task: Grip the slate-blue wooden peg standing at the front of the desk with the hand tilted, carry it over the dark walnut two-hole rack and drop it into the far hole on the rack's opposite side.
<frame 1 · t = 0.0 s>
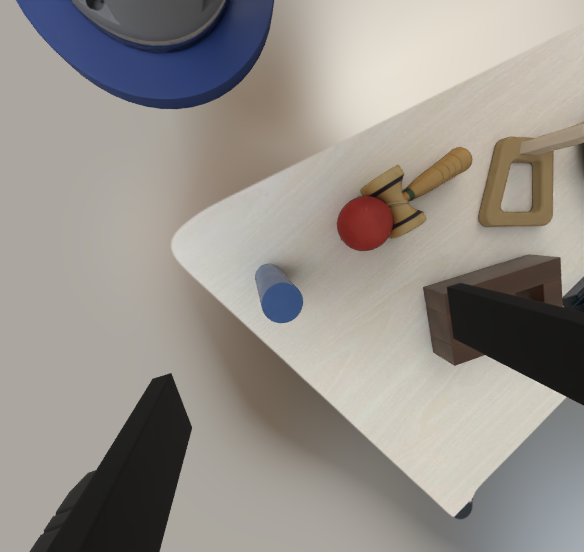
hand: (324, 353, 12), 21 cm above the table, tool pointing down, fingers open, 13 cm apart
peg: (268, 277, 32), on the table
headphone stand: (513, 184, 36), on the table
kendama: (392, 198, 33), on the table
rack: (480, 303, 38), on the table
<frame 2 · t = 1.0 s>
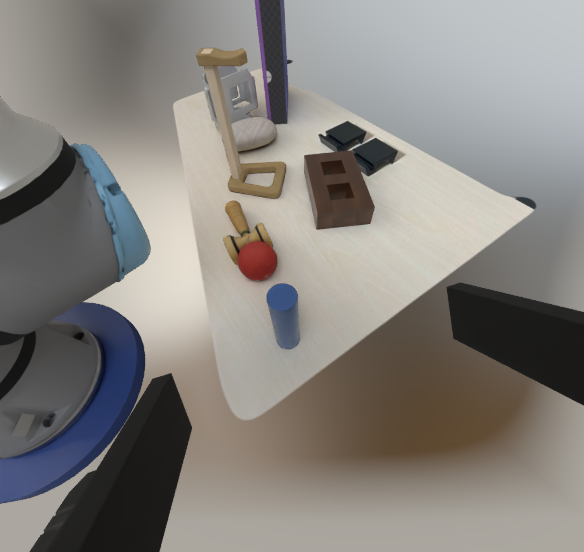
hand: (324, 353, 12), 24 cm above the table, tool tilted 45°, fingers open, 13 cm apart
decorative stone: (251, 145, 64), on the table
peg: (288, 338, 37), on the table
headphone stand: (257, 181, 57), on the table
cereal box: (279, 107, 74), on the table
kendama: (248, 246, 47), on the table
rack: (334, 195, 53), on the table
cable organizer: (239, 124, 70), on the table
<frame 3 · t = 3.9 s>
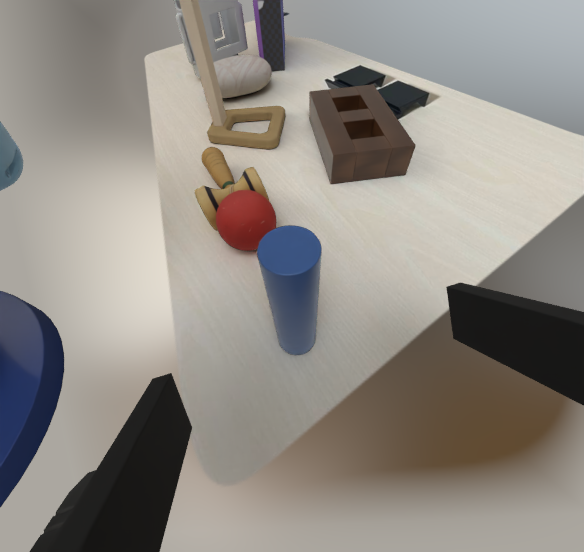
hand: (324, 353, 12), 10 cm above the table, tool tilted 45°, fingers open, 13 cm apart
decorative stone: (240, 93, 50), on the table
peg: (296, 336, 23), on the table
headphone stand: (248, 131, 43), on the table
cereal box: (274, 56, 60), on the table
kendama: (234, 208, 33), on the table
rack: (351, 143, 39), on the table
cable organizer: (224, 73, 56), on the table
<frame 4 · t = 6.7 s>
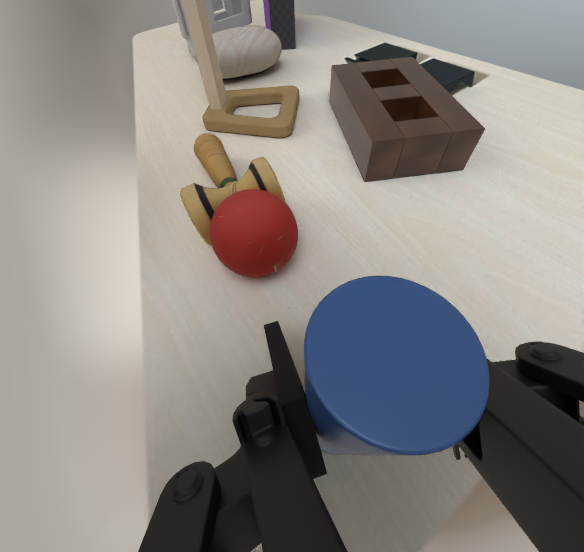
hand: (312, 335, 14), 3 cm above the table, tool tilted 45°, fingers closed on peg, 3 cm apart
decorative stone: (243, 74, 42), on the table
peg: (335, 420, 15), on the table, touching gripper
headphone stand: (253, 117, 34), on the table
cereal box: (282, 34, 52), on the table
kendama: (236, 214, 25), on the table
rack: (386, 131, 31), on the table
cable organizer: (225, 53, 48), on the table
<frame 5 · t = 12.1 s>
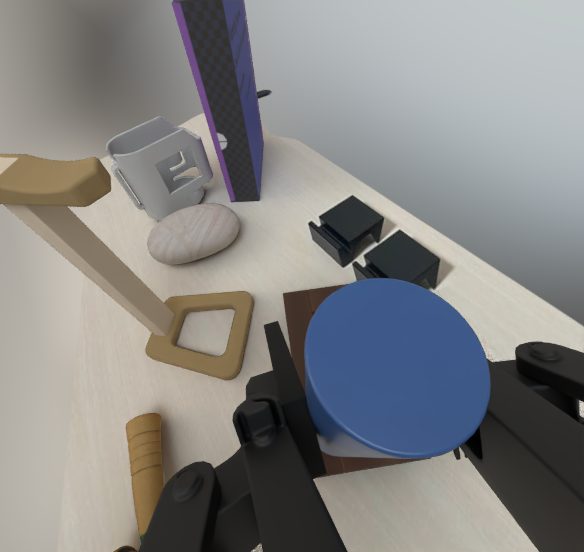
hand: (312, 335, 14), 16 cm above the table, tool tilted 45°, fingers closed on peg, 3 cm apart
decorative stone: (201, 245, 40), on the table
peg: (335, 421, 15), point 13 cm above the table, touching gripper
headphone stand: (203, 332, 32), on the table
cereal box: (249, 170, 50), on the table
kendama: (166, 531, 23), on the table
rack: (339, 372, 29), on the table
cable organizer: (186, 203, 45), on the table
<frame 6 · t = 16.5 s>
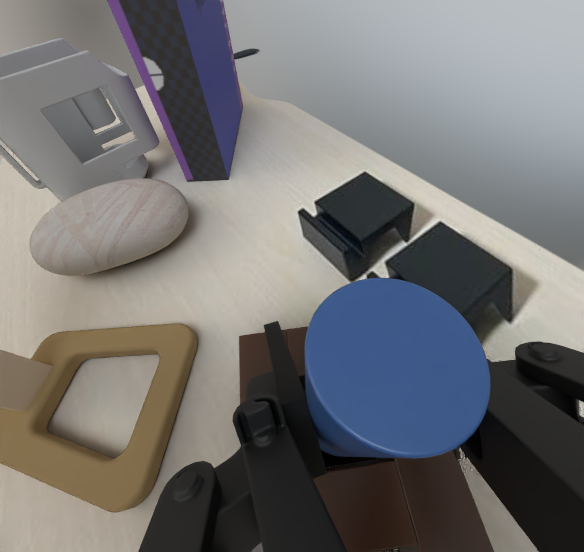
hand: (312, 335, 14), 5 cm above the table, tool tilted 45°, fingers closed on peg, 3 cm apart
decorative stone: (132, 244, 26), on the table
peg: (335, 421, 15), point 2 cm above the table, touching gripper
headphone stand: (104, 398, 18), on the table
cereal box: (219, 140, 36), on the table
rack: (346, 495, 15), on the table
cable organizer: (124, 183, 32), on the table
when the fingers open (5 cm above the table, at t = 17.6 s): peg drops 2 cm, resting in rack.
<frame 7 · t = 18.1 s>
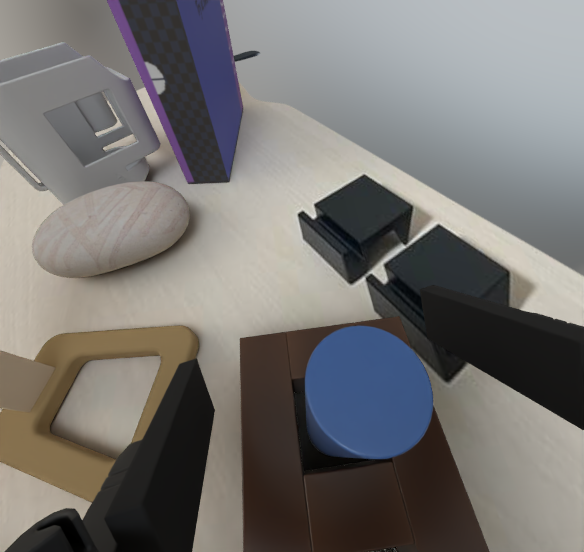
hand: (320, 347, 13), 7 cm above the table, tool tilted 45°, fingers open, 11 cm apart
decorative stone: (133, 246, 26), on the table
peg: (332, 425, 17), resting in rack
headphone stand: (106, 399, 18), on the table
cereal box: (219, 142, 36), on the table
rack: (345, 495, 15), on the table
cable organizer: (125, 185, 32), on the table
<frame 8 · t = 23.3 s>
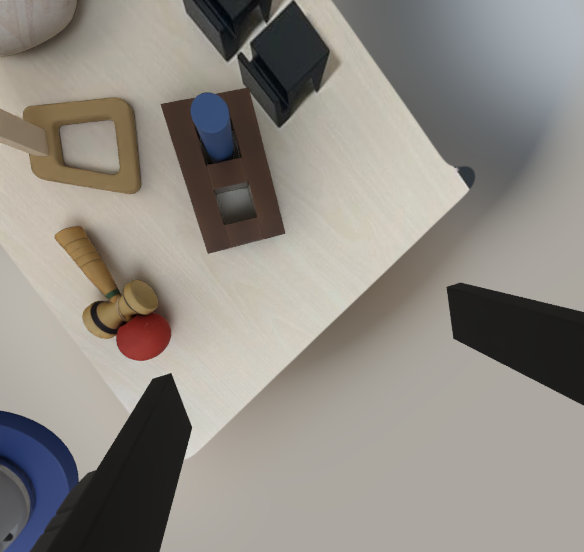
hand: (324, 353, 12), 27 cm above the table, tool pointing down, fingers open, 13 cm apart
decorative stone: (28, 15, 29), on the table
peg: (221, 152, 35), resting in rack
headphone stand: (89, 148, 32), on the table
kendama: (123, 291, 35), on the table
rack: (229, 179, 35), on the table
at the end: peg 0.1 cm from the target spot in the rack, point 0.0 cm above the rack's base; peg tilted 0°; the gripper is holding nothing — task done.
